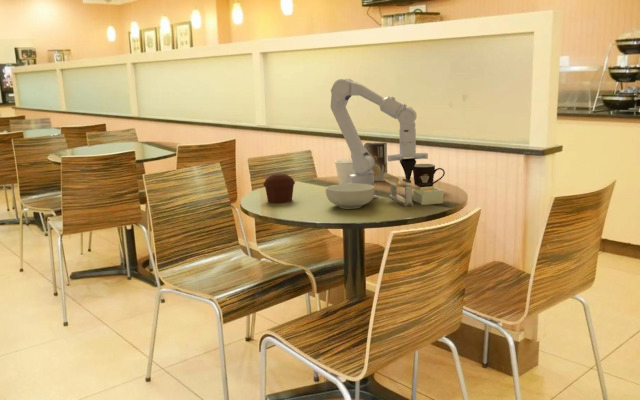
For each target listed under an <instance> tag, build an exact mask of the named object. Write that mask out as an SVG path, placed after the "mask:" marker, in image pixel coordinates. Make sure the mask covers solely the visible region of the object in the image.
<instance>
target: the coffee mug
mask: <svg viewBox="0 0 640 400" xmlns="http://www.w3.org/2000/svg"><path fill="white" fill-rule="evenodd" d="M438 170H441V171H442V172H443V174H442V176H441V177H439V178H438V179H436V180H435V181H434V177H435V174H436V172H437V171H438ZM412 175H413V181H414V182H413V183H414V185H416V186H419V187H434V185H435V184H436V183H437V182H439V181H440V180H442V178H443V177H444V176H445V175H446V172H445V169H443V168H442V167H437V168H436V164H433V163H416V164H415V166H414V168H413V170H412Z"/></svg>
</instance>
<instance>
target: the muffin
mask: <svg viewBox="0 0 640 400" xmlns="http://www.w3.org/2000/svg"><path fill="white" fill-rule="evenodd" d="M294 185H296V182H295V180H294V179H293V177H292V176H290V175H289V174H286V173H282V172H281V173H273V174H271V175H269V176H267V178H266V179H265V180H264V182H263V186H264V189H265V194H266V198H267V202H268V203H271V204H284V203H290V202H292V200H293V194H294Z"/></svg>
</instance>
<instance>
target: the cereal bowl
mask: <svg viewBox="0 0 640 400" xmlns="http://www.w3.org/2000/svg"><path fill="white" fill-rule="evenodd" d="M375 190H376V189H375V185H374V186H373V185H369V184H360V183H348V184H339V183H338V184H333V185H328V186H326V187H325V194H326V195H325V196H326V199H327V200H328V201H329V203H331V204H333V205H335V206H338V207H339V208H340V209H343V210H355V209H361V208H362V207H363V206H365V205H367V204H369V203H370V202H371V201H372V200H373V199H374V198H373V197H374V195H375Z"/></svg>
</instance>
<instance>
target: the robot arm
mask: <svg viewBox="0 0 640 400" xmlns="http://www.w3.org/2000/svg"><path fill="white" fill-rule="evenodd" d="M330 93H331V97H330V98H331V99H330V110H331V111H332V114H333V116H334V118H335V120H336V122H337V124H338V127H339V129H340V131H341V134H342V135H343V137H344V140H345V141H346V144H347V147H348V148H349V152H350V159H352V161H353V169H354V171H355V172H354V174H352V175H349V176H348V183H360V184H369V185H373V186H374V187H375V181H374V172H373V170H372V168H373V167H374V165H375V160H374V158H373V157H372V156H371V155H370V154H369V153H368V151H367V149H366V148H365V147H364V144H363V142H362V140H361V138H360V135H359V133H358V131H357V129H356V127H355V124H354V123H353V120H352V118H351V116H350V113H349V111H348V109H347V104H348V102H349V100H350V99H351V97H352V96H360V97H362V98H363V99H365V100H368V101H369V102H371V103H373V104H376V105H377V106H379V109H380V111H381V112H383V113H384V114H386V115H388V116H389V117H391V118H393V119H395V120H398V123H399V130H398V131H399V154H387V162H394V161H399V164H400V165H401V167H402V170H403V172H404V177H405V179H407V180H411V177H412V175H413V168H414V166H415V164H417V160H421V159H422V160H423V159H424V160H426V159H429V153H427V152H417V150H416V148H417V147H416V146H417V145H416V144H417V142H416V141H417V140H416V139H417V138H416V137H417V136H416V135H417V134H416V131H417V130H416V122H415V121H416V119H417V112H416V111H415V109H414V108H413V107H410V106H409V107H407V106H408V105H407V104H406V103H404V104H403V103H401V102H400V101H397V100H396V97H394V96H391V97H390V96H386V97H383V96H382V95H380V94H378V93H376V92H375V91H373V90H372V89H370V88H369V87H367V86H365V85H363V84H362V83H360V82H357V81H354V80H352V79H351V78H345V79H344V78H338V79H337V80H335V81H334V83H333V84H332V87H331V88H330ZM377 198H379V197H378V196H377V195H376V194H374V197H373V199H377Z"/></svg>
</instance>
